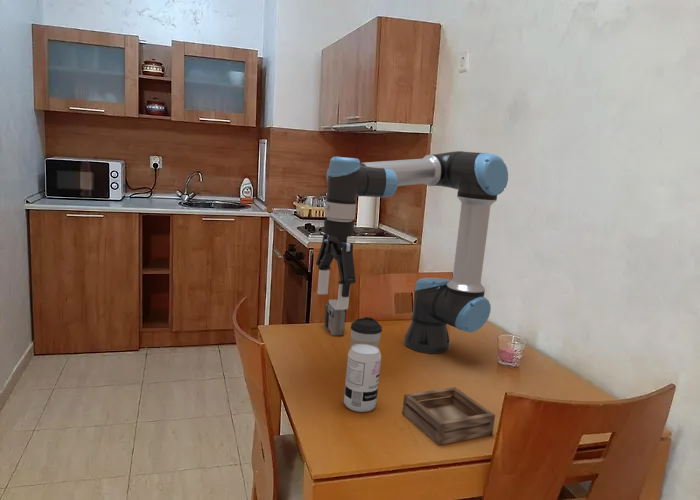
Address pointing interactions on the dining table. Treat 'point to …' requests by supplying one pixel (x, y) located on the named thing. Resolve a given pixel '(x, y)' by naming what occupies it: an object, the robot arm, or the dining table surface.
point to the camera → (334, 318)
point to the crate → (448, 415)
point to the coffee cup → (365, 332)
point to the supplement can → (362, 377)
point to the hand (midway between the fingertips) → (331, 301)
